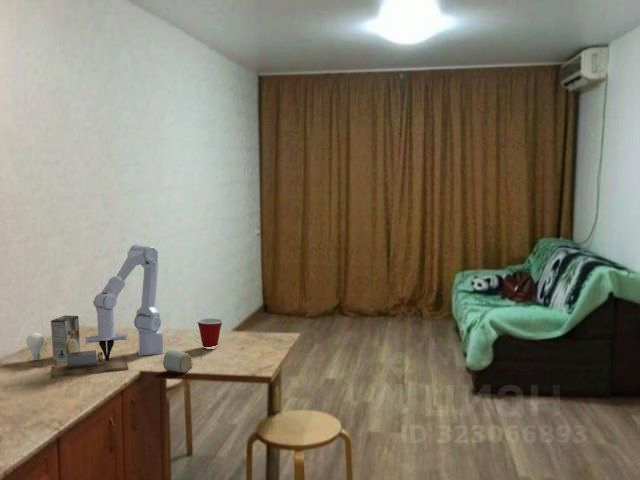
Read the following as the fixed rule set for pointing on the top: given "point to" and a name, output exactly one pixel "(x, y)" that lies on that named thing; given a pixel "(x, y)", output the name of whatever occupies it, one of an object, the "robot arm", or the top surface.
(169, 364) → the ceramic mug
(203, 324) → the plastic cup
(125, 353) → the top surface
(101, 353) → the shaft
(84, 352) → the block
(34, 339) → the lightbulb
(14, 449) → the top surface
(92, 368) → the base board
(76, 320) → the coffee box
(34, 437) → the top surface
